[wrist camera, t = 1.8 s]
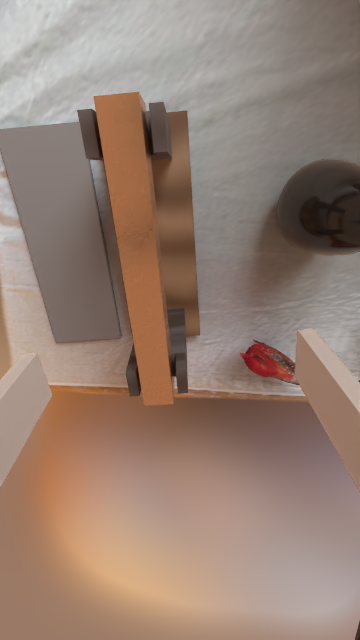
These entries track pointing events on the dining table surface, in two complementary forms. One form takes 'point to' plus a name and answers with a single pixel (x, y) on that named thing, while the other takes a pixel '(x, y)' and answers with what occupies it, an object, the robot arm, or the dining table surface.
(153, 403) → the copper rail
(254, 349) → the decorative bird figurine
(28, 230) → the rubber mat
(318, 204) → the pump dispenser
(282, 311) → the dining table surface
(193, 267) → the rail stand
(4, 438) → the robot arm
